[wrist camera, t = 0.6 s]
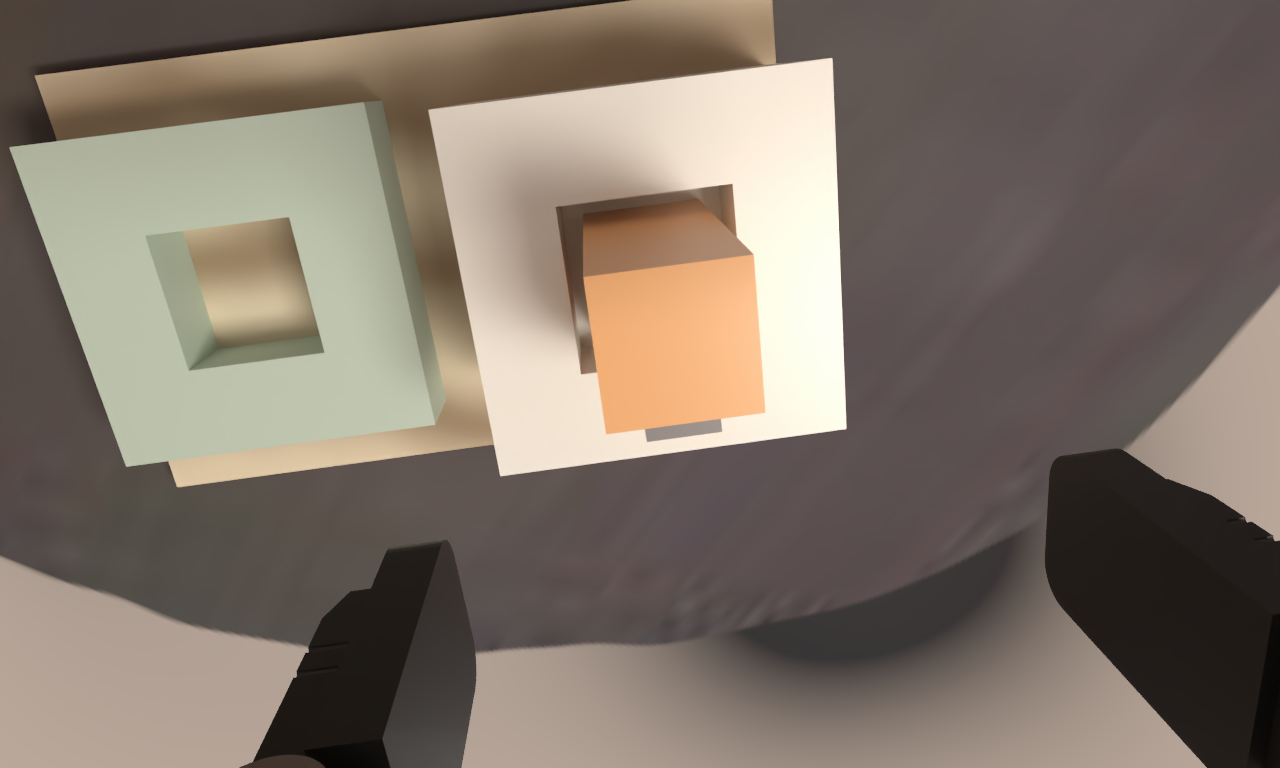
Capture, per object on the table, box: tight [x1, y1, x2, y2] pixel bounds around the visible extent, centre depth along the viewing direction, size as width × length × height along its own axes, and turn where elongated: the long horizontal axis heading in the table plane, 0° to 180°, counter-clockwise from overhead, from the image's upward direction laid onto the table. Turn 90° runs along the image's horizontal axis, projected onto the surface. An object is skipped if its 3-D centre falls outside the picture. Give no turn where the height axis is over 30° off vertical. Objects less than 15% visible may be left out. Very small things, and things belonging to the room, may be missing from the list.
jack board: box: [35, 0, 776, 487], centre depth 36 cm, size 18×29×1 cm, turn 97°
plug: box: [583, 199, 765, 442], centre depth 25 cm, size 5×4×10 cm
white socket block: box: [428, 58, 846, 476], centre depth 31 cm, size 12×12×10 cm
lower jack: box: [9, 101, 446, 467], centre depth 34 cm, size 13×13×3 cm
